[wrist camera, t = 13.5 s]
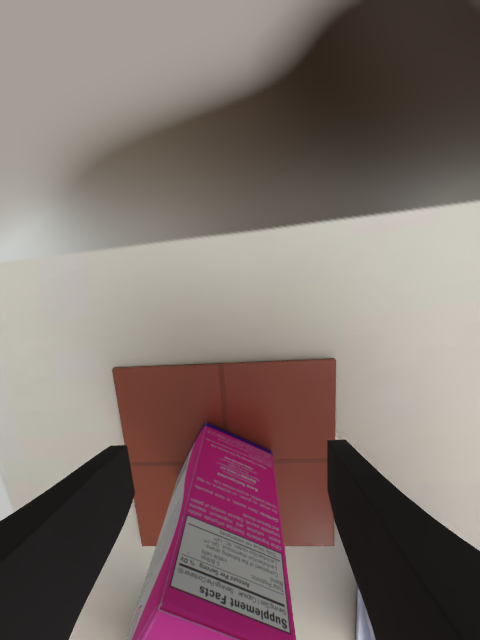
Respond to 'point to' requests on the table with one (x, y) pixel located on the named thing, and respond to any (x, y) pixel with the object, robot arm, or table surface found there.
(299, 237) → the table surface
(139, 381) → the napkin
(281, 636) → the supplement box
